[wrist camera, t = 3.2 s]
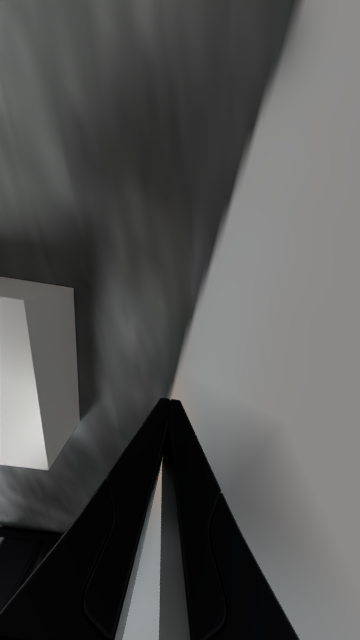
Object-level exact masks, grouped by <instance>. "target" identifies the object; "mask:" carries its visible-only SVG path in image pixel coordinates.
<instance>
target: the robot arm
mask: <svg viewBox="0 0 360 640" xmlns="http://www.w3.org/2000/svg"><path fill="white" fill-rule="evenodd" d="M162 457H163V459H162ZM161 462H162V503H161V509H162V510H161V562H160V567H161V568H160V621H159V623H160V624H159V640H300V639H299V638H298V636H297V634H296V632H295V630H294V629H293V627H292V625H291V623H290V621H289V620H288V618H287V616H286V614H285V612H284V610H283V609H282V607H281V605H280V604H279V601H278V600H277V598H276V596H275V594H274V592H273V591H272V589H271V587H270V585H269V584H268V582H267V580H266V578H265V576H264V574H263V573H262V571H261V569H260V567H259V565H258V563H257V561H256V560H255V558H254V556H253V554H252V552H251V550H250V549H249V547H248V544H247V543H246V541H245V539H244V537H243V535H242V533H241V531H240V529H239V527H238V525H237V523H236V521H235V519H234V517H233V514H232V512H231V510H230V508H229V506H228V504H227V502H226V499H225V497H224V495H223V493H221V489H220V487H219V484H218V482H217V480H216V478H215V476H214V473H213V471H212V469H211V467H210V465H209V463H208V461H207V458H206V456H205V454H204V452H203V449H202V447H201V445H200V443H199V441H198V439H197V436H196V435H195V432H194V430H193V428H192V425H191V423H190V421H189V419H188V417H187V414H186V412H185V410H184V408H183V406H182V404H181V402H180V401H179V400H174V399H171V400H170V399H167V398H160V400H159V401H158V402H157V404H156V405H155V407H154V408H153V410H152V411H151V413H150V414H149V415H148V417H147V418H146V420H145V421H144V423H143V424H142V426H141V427H140V429H139V430H138V431H137V433H136V434H135V436H134V437H133V439H132V440H131V442H130V443H129V444H128V446H127V447H126V449H125V450H124V452H123V453H122V455H121V456H120V458H119V459H118V460H117V462H116V463H115V465H114V466H113V468H112V469H111V471H110V472H109V473H108V475H107V476H106V479H104V480H103V482H102V483H101V485H100V486H99V488H98V489H97V491H96V492H95V494H94V495H93V496H92V498H91V499H90V500H89V502H88V503H87V505H86V506H85V507H84V509H83V510H82V511H81V513H80V514H79V516H78V517H77V518H76V519H75V521H74V522H73V523H72V525H71V526H70V527H69V528H68V530H67V531H66V532H65V533H64V535H63V536H60V535H51V534H41V533H32V532H23V531H13V530H4V529H0V640H122V638H123V634H124V629H125V625H126V620H127V616H128V611H129V607H130V602H131V597H132V593H133V588H134V584H135V580H136V575H137V571H138V566H139V562H140V557H141V553H142V548H143V543H144V539H145V534H146V530H147V526H148V521H149V517H150V512H151V508H152V503H153V499H154V494H155V490H156V485H157V480H158V476H159V472H160V467H161ZM220 493H221V494H220Z"/></svg>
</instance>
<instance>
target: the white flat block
mask: <svg viewBox="0 0 360 640" xmlns="http://www.w3.org/2000/svg"><path fill="white" fill-rule="evenodd" d="M79 422H80V414H79V393H78V372H77V351H76V330H75V309H74V288H70V287H64V286H58V285H51V284H45V283H39V282H32V281H26V280H19V279H13V278H7V277H0V465H8V466H16V467H25V468H33V469H42V470H49V469H50V467H51V466H52V464H53V463H54V461H55V460H56V458H57V456H58V455H59V453H60V452H61V450H62V449H63V447H64V446H65V444H66V442H67V441H68V439H69V438H70V436H71V435H72V433H73V432H74V430H75V428H76V427H77V425H78V424H79Z"/></svg>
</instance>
